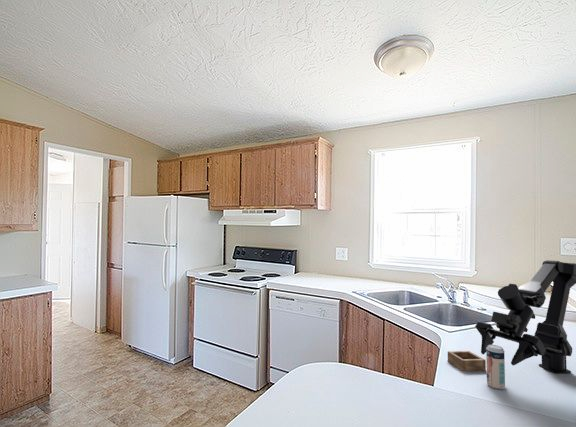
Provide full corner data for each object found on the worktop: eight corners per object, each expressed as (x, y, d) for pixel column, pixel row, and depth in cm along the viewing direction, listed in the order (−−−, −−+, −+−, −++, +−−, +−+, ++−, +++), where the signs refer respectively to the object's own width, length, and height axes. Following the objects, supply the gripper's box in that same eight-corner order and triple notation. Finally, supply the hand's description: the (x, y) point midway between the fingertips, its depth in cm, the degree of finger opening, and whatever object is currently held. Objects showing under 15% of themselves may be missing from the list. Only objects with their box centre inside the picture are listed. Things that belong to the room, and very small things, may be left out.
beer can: (488, 381, 101) (487, 343, 102) (506, 386, 98) (505, 346, 99) (485, 386, 97) (485, 346, 98) (504, 392, 94) (503, 350, 95)
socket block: (469, 360, 118) (468, 350, 118) (485, 370, 109) (485, 359, 110) (447, 361, 117) (447, 351, 117) (462, 371, 108) (462, 360, 109)
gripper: (478, 297, 110) (456, 333, 105) (539, 309, 93) (517, 352, 88) (493, 318, 113) (472, 354, 108) (554, 334, 96) (534, 377, 91)
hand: (496, 358), depth 98 cm, fingers open, 9 cm apart
